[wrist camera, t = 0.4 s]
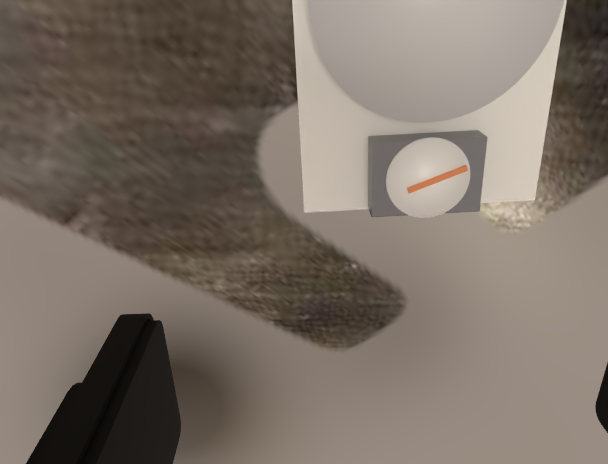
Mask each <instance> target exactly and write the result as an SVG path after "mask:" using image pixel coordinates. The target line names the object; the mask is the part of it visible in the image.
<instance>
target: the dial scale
mask: <svg viewBox="0 0 608 464" xmlns="http://www.w3.org/2000/svg"><path fill="white" fill-rule="evenodd" d="M566 2H567V0H292V5H293V23H294V41H295V58H296V76H297V94H298V112H299V129H300V147H301V165H302V183H303V201H304V213H306V212H326V211H345V210H363V209H369V211H370V214H371V217H384V216H401V215H410V216H413V217H419V218H428V217H434V216H438V215H440V214H443V213H458V212H477V211H480V203H494V202H512V201H531V200H535V195H536V189H537V183H538V177H539V170H540V164H541V158H542V152H543V146H544V139H545V133H546V127H547V121H548V114H549V108H550V102H551V96H552V89H553V83H554V77H555V71H556V64H557V58H558V52H559V46H560V39H561V33H562V27H563V21H564V14H565V8H566Z"/></svg>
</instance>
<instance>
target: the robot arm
mask: <svg viewBox="0 0 608 464" xmlns="http://www.w3.org/2000/svg"><path fill="white" fill-rule="evenodd" d="M596 413H597V417H598V419H599V421H600V423H601V424H602V426H603V427H604V429H605V430H606V431H607V433H608V364H607V367H606V370H605V374H604V377H603V381H602V384H601V387H600V391H599V394H598V398H597V401H596ZM180 431H181V421H180V414H179V408H178V403H177V398H176V393H175V387H174V382H173V377H172V371H171V366H170V361H169V355H168V350H167V346H166V340H165V334H164V329H163V325H162V322H161V321H159V320H158V321H154V320H153V317H152V316H151V314H125V315H120V316H119V318H118V319H117V321H116V323H115V325H114V326H113V328H112V330H111V332H110V334H109V335H108V337H107V339H106V341H105V343H104V344H103V346H102V348H101V350H100V352H99V353H98V355H97V357H96V359H95V361H94V362H93V364H92V366H91V368H90V369H89V371H88V373H87V375H86V377H85V379H84V380H83V382H82V383H76V384H75V385H73V386H72V387H71V388H70V390H69V391H68V392H67V394H66V396H65V398H64V399H63V401H62V403H61V404H60V406H59V408H58V410H57V411H56V413H55V415H54V416H53V418H52V420H51V422H50V423H49V425H48V427H47V429H46V431H45V432H44V434H43V435H42V437H41V439H40V440H39V442H38V444H37V446H36V447H35V449H34V451H33V453H32V454H31V456H30V458H29V459H28V461H27V463H26V464H173V460H174V456H175V453H176V449H177V445H178V441H179V437H180Z"/></svg>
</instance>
